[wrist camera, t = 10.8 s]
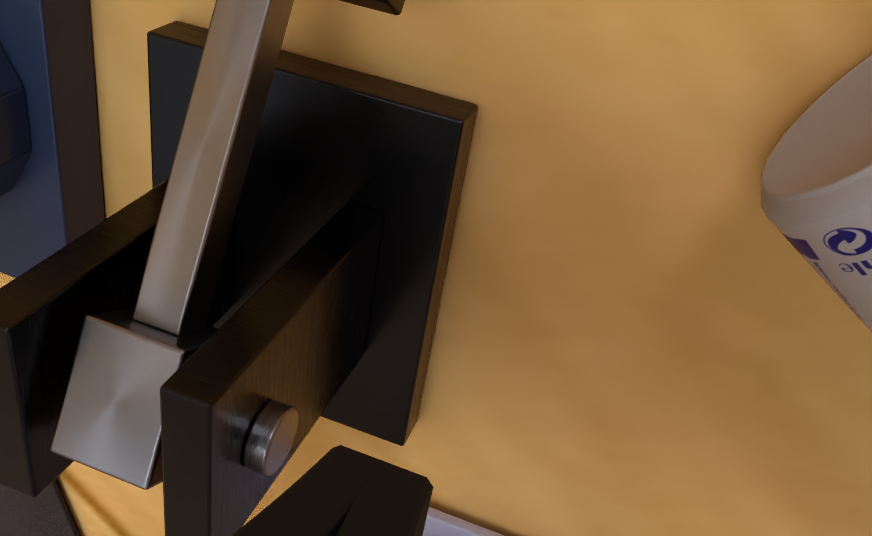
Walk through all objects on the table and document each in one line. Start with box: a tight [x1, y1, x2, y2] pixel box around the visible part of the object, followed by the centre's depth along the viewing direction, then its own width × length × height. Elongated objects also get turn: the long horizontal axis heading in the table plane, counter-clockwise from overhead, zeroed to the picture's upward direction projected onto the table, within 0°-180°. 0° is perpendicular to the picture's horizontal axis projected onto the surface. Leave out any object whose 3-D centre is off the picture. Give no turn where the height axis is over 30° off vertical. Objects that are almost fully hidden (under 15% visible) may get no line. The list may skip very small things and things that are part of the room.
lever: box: [50, 0, 405, 489], centre depth 16 cm, size 11×6×2 cm, turn 170°
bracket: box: [0, 21, 478, 536], centre depth 19 cm, size 10×8×9 cm
